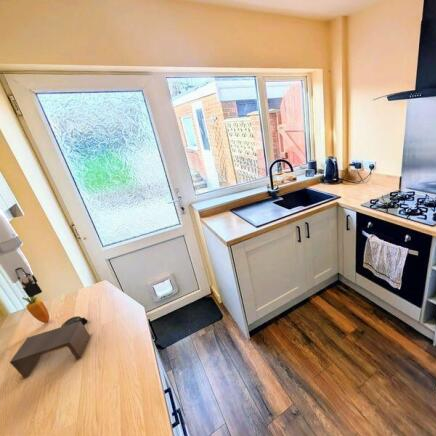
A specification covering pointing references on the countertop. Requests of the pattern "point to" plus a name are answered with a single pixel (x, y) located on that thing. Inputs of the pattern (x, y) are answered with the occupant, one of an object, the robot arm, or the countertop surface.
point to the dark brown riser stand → (50, 345)
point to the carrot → (37, 309)
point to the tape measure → (74, 321)
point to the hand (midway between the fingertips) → (33, 289)
